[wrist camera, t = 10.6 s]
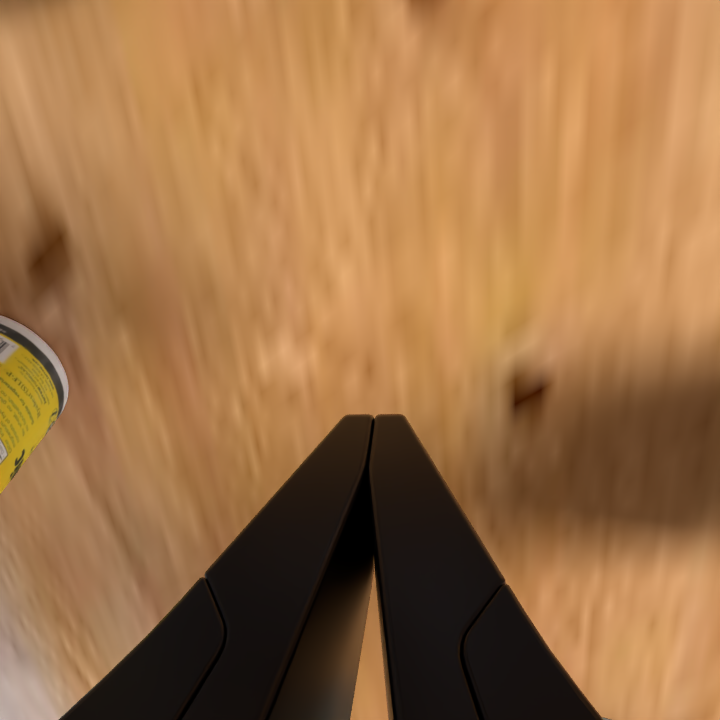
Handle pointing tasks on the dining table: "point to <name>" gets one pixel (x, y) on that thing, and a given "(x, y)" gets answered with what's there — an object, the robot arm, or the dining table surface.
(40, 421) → the supplement bottle
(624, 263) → the dining table surface
